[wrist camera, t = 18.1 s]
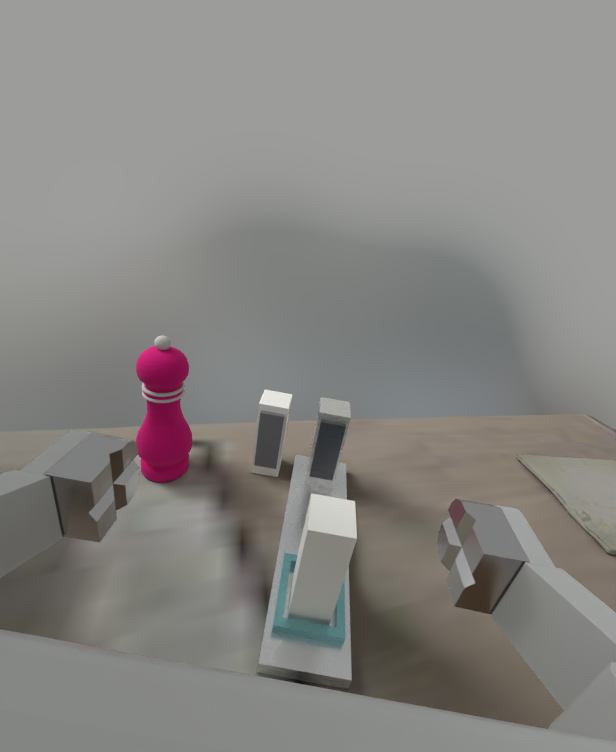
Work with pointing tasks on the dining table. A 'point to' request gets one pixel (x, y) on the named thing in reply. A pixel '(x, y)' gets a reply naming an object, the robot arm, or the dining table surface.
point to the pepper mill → (163, 413)
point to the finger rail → (283, 635)
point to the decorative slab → (582, 491)
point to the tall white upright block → (322, 558)
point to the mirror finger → (270, 432)
